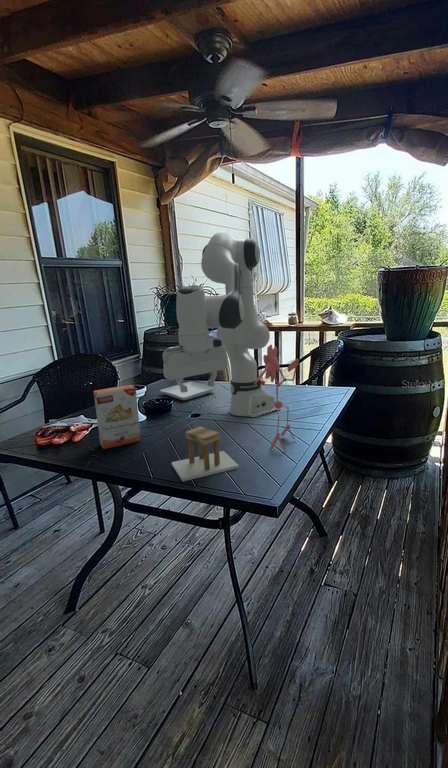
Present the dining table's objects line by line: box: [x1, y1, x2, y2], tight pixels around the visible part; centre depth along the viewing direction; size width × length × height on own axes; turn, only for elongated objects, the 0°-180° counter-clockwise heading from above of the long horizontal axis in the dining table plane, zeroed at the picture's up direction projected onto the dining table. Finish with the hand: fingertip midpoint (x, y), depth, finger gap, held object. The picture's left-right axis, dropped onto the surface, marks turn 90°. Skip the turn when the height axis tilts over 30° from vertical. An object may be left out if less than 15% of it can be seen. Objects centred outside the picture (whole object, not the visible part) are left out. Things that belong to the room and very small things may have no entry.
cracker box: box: [93, 384, 141, 450], centre depth 146 cm, size 14×6×21 cm, turn 117°
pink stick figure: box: [250, 344, 300, 451], centre depth 137 cm, size 15×26×35 cm, turn 150°
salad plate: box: [159, 381, 216, 401], centre depth 207 cm, size 21×21×3 cm
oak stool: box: [185, 425, 221, 470], centre depth 125 cm, size 9×6×10 cm, turn 44°
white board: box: [171, 450, 239, 482], centre depth 127 cm, size 18×12×1 cm, turn 112°
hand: (197, 388), depth 121 cm, fingers open, 8 cm apart
